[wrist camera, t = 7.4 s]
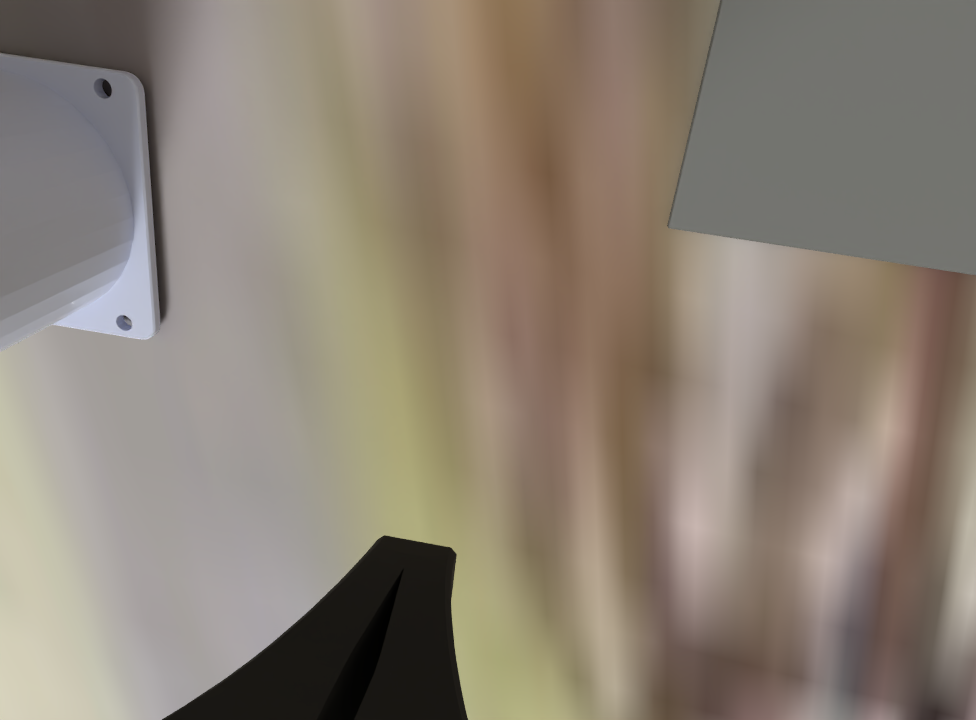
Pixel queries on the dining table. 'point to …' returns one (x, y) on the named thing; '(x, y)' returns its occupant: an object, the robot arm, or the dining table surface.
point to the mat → (838, 130)
